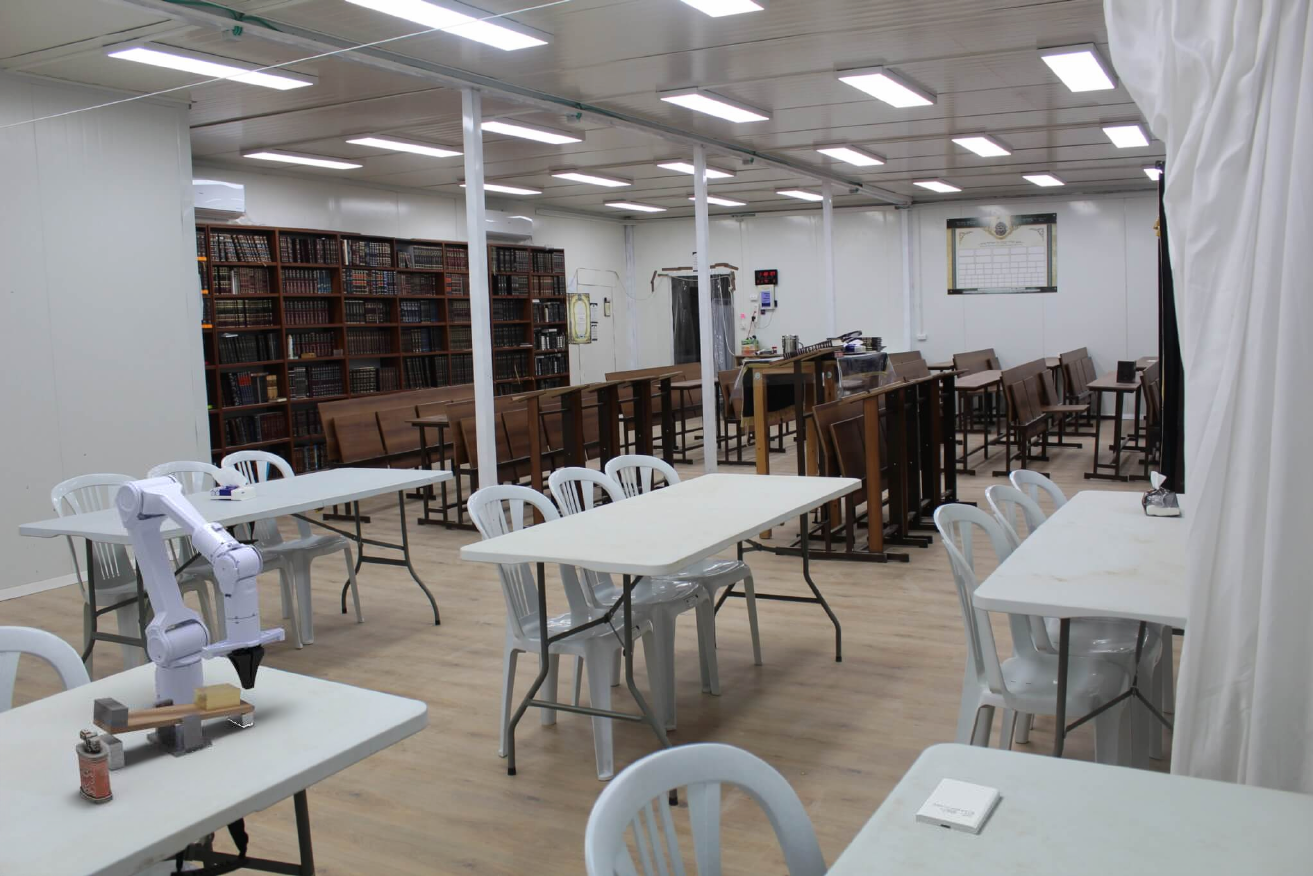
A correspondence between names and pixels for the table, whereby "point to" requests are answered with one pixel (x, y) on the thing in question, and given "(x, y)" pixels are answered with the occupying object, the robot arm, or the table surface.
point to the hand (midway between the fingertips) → (248, 687)
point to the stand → (170, 736)
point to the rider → (217, 697)
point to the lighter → (93, 768)
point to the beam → (153, 715)
